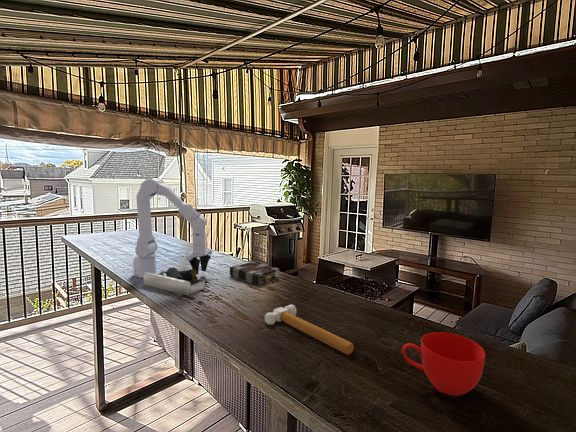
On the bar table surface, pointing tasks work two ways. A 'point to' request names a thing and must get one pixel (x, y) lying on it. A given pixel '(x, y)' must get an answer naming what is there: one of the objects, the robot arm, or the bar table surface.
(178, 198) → the robot arm
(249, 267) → the book
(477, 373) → the ceramic cup
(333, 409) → the bar table surface
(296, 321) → the hammer
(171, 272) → the pipe connector
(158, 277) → the white long box
